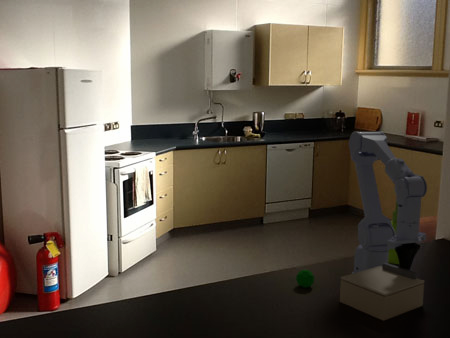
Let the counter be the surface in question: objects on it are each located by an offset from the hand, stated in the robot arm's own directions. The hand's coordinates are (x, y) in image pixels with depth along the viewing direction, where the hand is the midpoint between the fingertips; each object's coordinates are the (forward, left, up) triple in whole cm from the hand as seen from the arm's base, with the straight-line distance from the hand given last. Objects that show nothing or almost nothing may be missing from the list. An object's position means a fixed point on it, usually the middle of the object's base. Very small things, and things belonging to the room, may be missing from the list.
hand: (404, 269), depth 144 cm
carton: (0, -9, -7) cm, 12 cm away
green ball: (-20, -17, -8) cm, 28 cm away
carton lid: (0, -10, -1) cm, 10 cm away
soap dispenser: (-20, +24, -8) cm, 32 cm away
